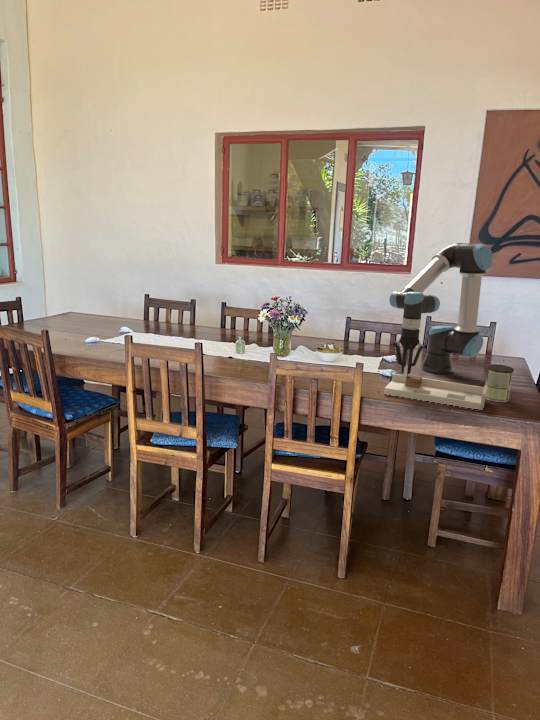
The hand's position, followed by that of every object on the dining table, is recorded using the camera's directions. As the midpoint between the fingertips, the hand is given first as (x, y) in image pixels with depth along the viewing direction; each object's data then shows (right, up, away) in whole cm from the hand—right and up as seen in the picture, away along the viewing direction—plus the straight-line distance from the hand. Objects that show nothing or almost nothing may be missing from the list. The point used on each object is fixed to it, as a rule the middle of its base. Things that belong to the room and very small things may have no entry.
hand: (405, 380), depth 231 cm
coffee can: (+38, -8, -4) cm, 39 cm away
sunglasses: (+4, -2, +14) cm, 14 cm away
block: (+3, -2, -1) cm, 4 cm away
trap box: (+11, -7, -7) cm, 15 cm away
